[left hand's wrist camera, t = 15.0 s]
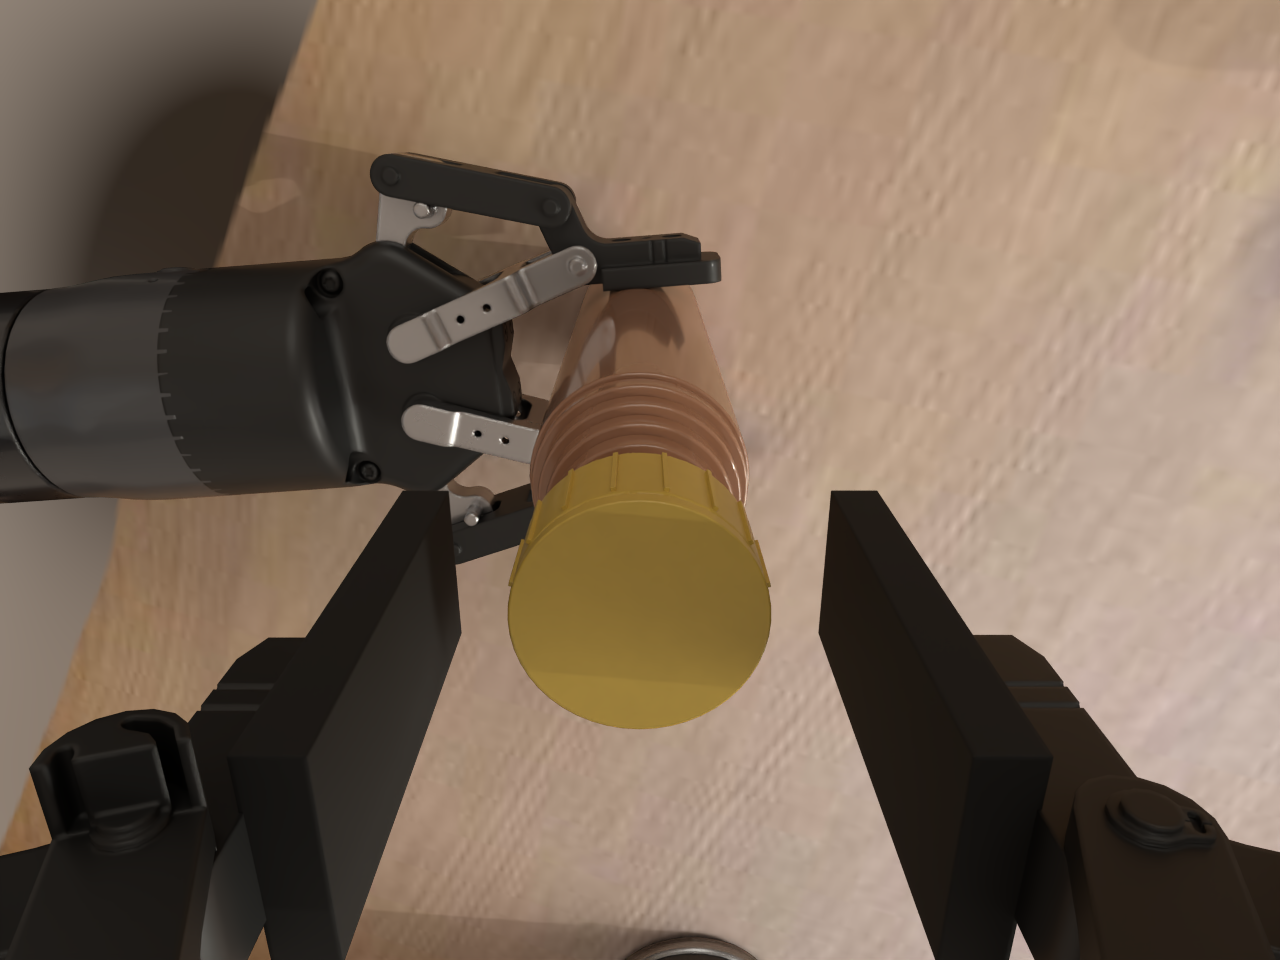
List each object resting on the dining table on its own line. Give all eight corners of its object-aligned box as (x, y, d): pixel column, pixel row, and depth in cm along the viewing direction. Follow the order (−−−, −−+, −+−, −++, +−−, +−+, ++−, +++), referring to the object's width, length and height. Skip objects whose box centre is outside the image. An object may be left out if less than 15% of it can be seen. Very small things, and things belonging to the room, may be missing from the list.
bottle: (721, 307, 34) (852, 585, 13) (647, 395, 36) (659, 773, 15) (630, 231, 33) (615, 401, 12) (558, 324, 35) (430, 624, 14)
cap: (572, 412, 14) (561, 457, 12) (796, 501, 14) (820, 557, 13) (490, 613, 15) (469, 681, 13) (698, 687, 16) (705, 763, 14)
